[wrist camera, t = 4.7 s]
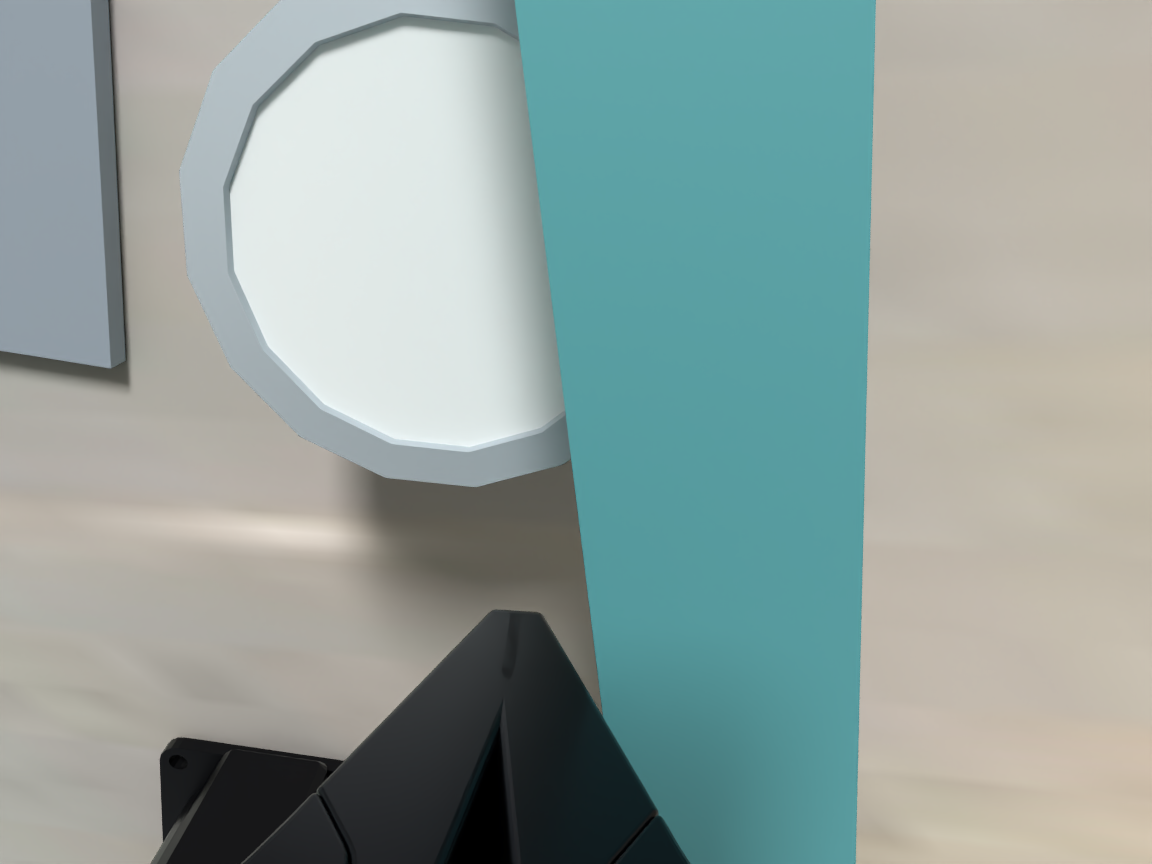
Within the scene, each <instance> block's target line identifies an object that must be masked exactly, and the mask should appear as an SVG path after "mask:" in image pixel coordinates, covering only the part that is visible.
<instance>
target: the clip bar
mask: <svg viewBox="0 0 1152 864" xmlns="http://www.w3.org/2000/svg"><path fill="white" fill-rule="evenodd" d="M515 8H516V16H517V24H518V33H519V41H520V49H521V57H522V65H523V73H524V81H525V89H526V97H527V105H528V114H529V122H530V130H531V138H532V146H533V154H534V162H535V170H536V178H537V186H538V194H539V203H540V211H541V219H542V227H543V235H544V243H545V251H546V259H547V267H548V275H549V283H550V292H551V300H552V308H553V316H554V324H555V332H556V340H557V348H558V356H559V364H560V373H561V381H562V389H563V397H564V405H565V413H566V421H567V429H568V437H569V445H570V453H571V462H572V470H573V478H574V486H575V494H576V502H577V510H578V518H579V526H580V534H581V543H582V551H583V559H584V567H585V575H586V583H587V591H588V599H589V607H590V615H591V623H592V632H593V640H594V648H595V656H596V664H597V672H598V680H599V688H600V696H601V704H602V712H603V718H604V719H605V721H606V723H607V725H608V726H609V728H610V730H611V731H612V733H613V735H614V736H615V738H616V740H617V742H618V743H619V745H620V747H621V748H622V750H623V752H624V753H625V755H626V757H627V758H628V760H629V762H630V764H631V765H632V767H633V769H634V770H635V772H636V774H637V775H638V777H639V779H640V780H641V782H642V784H643V786H644V787H645V789H646V791H647V792H648V794H649V796H650V797H651V799H652V801H653V803H654V804H655V806H656V808H657V809H658V812H659V816H661V817H663V819H664V820H665V822H666V824H667V826H668V827H669V829H670V831H671V832H672V834H673V836H674V838H675V839H676V841H677V843H678V844H679V846H680V848H681V849H682V851H683V853H684V854H685V856H686V857H687V859H688V860H689V862H690V863H691V864H856V822H857V779H858V736H859V693H860V650H861V608H862V565H863V522H864V479H865V437H866V394H867V351H868V308H869V266H870V223H871V180H872V137H873V94H874V52H875V9H876V0H515Z"/></svg>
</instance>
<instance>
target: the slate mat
mask: <svg viewBox="0 0 1152 864" xmlns="http://www.w3.org/2000/svg"><path fill="white" fill-rule="evenodd" d="M0 351H6V352H12V353H19V354H25V355H31V356H37V357H43V358H49V359H55V360H62V361H68V362H74V363H80V364H86V365H92V366H99V367H105V368H113V367H115V366H116V365H118V364H120V363H122V362H124V361H126V359H125V338H124V317H123V296H122V275H121V254H120V233H119V213H118V192H117V171H116V150H115V129H114V108H113V87H112V66H111V46H110V25H109V4H108V0H0Z"/></svg>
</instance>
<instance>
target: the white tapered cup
mask: <svg viewBox="0 0 1152 864" xmlns="http://www.w3.org/2000/svg"><path fill="white" fill-rule="evenodd" d="M179 174H180V188H181V201H182V214H183V227H184V240H185V253H186V266H187V276H188V278H189V280H190V282H191V284H192V286H193V289H194V291H195V293H196V295H197V297H198V299H199V301H200V303H201V305H202V308H203V310H204V312H205V314H206V316H207V318H208V320H209V322H210V325H211V327H212V329H213V331H214V333H215V335H216V337H217V339H218V342H219V344H220V346H221V348H222V350H223V352H224V354H225V356H226V358H227V361H228V363H229V365H230V367H231V368H232V369H233V370H234V371H235V372H236V373H237V374H238V375H239V376H240V377H241V378H242V379H243V380H244V381H245V382H246V383H247V384H248V385H249V386H250V387H251V388H252V389H253V390H254V391H255V392H256V393H257V394H258V395H259V396H260V397H261V398H262V399H263V400H264V401H265V402H266V403H267V404H268V405H269V406H270V407H271V408H272V409H273V410H274V411H275V412H276V413H277V414H278V415H279V416H280V417H281V418H282V419H283V420H284V421H285V422H286V423H287V424H288V425H289V426H290V427H291V428H292V429H293V430H294V431H295V432H296V433H297V434H298V435H299V436H300V437H302V438H304V439H306V440H308V441H310V442H312V443H314V444H316V445H318V446H320V447H322V448H324V449H327V450H329V451H331V452H333V453H335V454H337V455H339V456H341V457H343V458H345V459H347V460H349V461H351V462H353V463H356V464H358V465H360V466H362V467H364V468H366V469H368V470H370V471H372V472H374V473H376V474H378V475H380V476H382V477H385V478H392V479H402V480H411V481H421V482H430V483H440V484H449V485H459V486H468V487H479V486H483V485H487V484H491V483H494V482H498V481H502V480H506V479H510V478H514V477H517V476H521V475H525V474H529V473H533V472H537V471H540V470H544V469H548V468H552V467H556V466H560V465H563V464H564V463H566V462H567V461H569V460H570V459H571V453H570V445H569V437H568V429H567V421H566V413H565V405H564V397H563V389H562V381H561V373H560V364H559V356H558V348H557V340H556V332H555V324H554V316H553V308H552V300H551V292H550V283H549V275H548V267H547V259H546V251H545V243H544V235H543V227H542V219H541V211H540V203H539V194H538V186H537V178H536V170H535V162H534V154H533V146H532V138H531V130H530V122H529V114H528V105H527V97H526V89H525V81H524V73H523V65H522V57H521V49H520V41H519V33H518V24H517V16H516V8H515V0H280V1H279V2H278V3H277V4H276V5H275V6H274V7H273V8H272V9H271V10H270V11H269V12H268V13H267V15H266V16H265V17H264V18H263V19H262V20H261V21H260V22H259V23H258V24H257V25H256V26H255V27H254V28H253V29H252V30H251V31H250V32H249V33H248V34H247V35H246V36H245V37H244V38H243V40H242V41H241V42H240V43H239V44H238V45H237V46H236V47H235V48H234V49H233V50H232V51H231V52H230V53H229V54H228V55H227V56H226V57H225V58H224V59H223V60H222V61H221V62H220V63H219V64H218V66H217V67H216V68H215V69H214V70H213V72H212V75H211V78H210V81H209V84H208V87H207V90H206V93H205V96H204V99H203V102H202V105H201V108H200V111H199V114H198V117H197V120H196V123H195V126H194V129H193V132H192V135H191V137H190V140H189V143H188V146H187V149H186V152H185V155H184V158H183V161H182V164H181V167H180V170H179Z"/></svg>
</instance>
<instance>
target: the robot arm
mask: <svg viewBox="0 0 1152 864" xmlns="http://www.w3.org/2000/svg"><path fill="white" fill-rule="evenodd" d="M180 756H182V757H184V758H182V757H180ZM160 776H161V802H162V828H163V843H162V845H161V847H160V849H159V850H158V852H157V854H156V855H155V857H154V859H153V860H152V862H151V864H691V863H690V862H689V860H688V859H687V857H686V856H685V854H684V853H683V851H682V849H681V848H680V846H679V844H678V843H677V841H676V839H675V838H674V836H673V834H672V832H671V831H670V829H669V827H668V826H667V824H666V822H665V820H664V819H663V817H661V816H659V812H658V809H657V808H656V806H655V804H654V803H653V801H652V799H651V797H650V796H649V794H648V792H647V791H646V789H645V787H644V786H643V784H642V782H641V780H640V779H639V777H638V775H637V774H636V772H635V770H634V769H633V767H632V765H631V764H630V762H629V760H628V758H627V757H626V755H625V753H624V752H623V750H622V748H621V747H620V745H619V743H618V742H617V740H616V738H615V736H614V735H613V733H612V731H611V730H610V728H609V726H608V725H607V723H606V721H605V719H604V718H603V716H602V714H601V713H600V711H599V709H598V708H597V706H596V704H595V703H594V701H593V699H592V697H591V696H590V694H589V692H588V691H587V689H586V687H585V686H584V684H583V682H582V681H581V679H580V677H579V675H578V674H577V672H576V670H575V669H574V667H573V665H572V664H571V662H570V660H569V658H568V657H567V655H566V653H565V652H564V650H563V648H562V647H561V645H560V643H559V642H558V640H557V638H556V636H555V635H554V633H553V631H552V630H551V628H550V626H549V625H548V623H547V621H546V620H545V618H544V616H543V615H542V614H540V613H538V612H526V611H511V610H497V609H496V610H492V611H490V612H489V613H488V614H487V615H486V616H485V617H484V618H483V619H482V620H481V621H480V623H479V624H478V625H477V626H476V627H475V628H474V629H473V630H472V631H471V632H470V633H469V634H468V635H467V636H466V637H465V638H464V639H463V640H462V641H461V642H460V643H459V644H458V645H457V646H456V647H455V648H454V649H453V650H452V651H451V652H450V653H449V654H448V655H447V656H446V657H445V658H444V659H443V660H442V661H441V662H440V663H439V665H438V666H437V667H436V668H435V669H434V670H433V671H432V672H431V673H430V674H429V675H428V676H427V677H426V678H425V679H424V680H423V681H422V682H421V683H420V684H419V685H418V686H417V687H416V688H415V689H414V690H413V691H412V692H411V693H410V694H409V695H408V696H407V697H406V698H405V699H404V700H403V701H402V702H401V703H400V704H399V705H398V707H397V708H396V709H395V710H394V711H393V712H392V713H391V714H390V715H389V716H388V717H387V718H386V719H385V720H384V721H383V722H382V723H381V724H380V725H379V726H378V727H377V728H376V729H375V730H374V731H373V732H372V733H371V734H370V735H369V736H368V737H367V738H366V739H365V740H364V741H363V742H362V743H361V744H360V745H359V746H358V747H357V749H356V750H355V751H354V752H353V753H352V754H351V755H350V756H349V757H348V758H347V759H346V760H345V761H340V760H334V759H327V758H320V757H313V756H306V755H299V754H293V753H286V752H279V751H272V750H265V749H258V748H252V747H245V746H238V745H231V744H224V743H218V742H211V741H204V740H197V739H190V738H176V739H173V740H171V741H170V743H169V744H168V745H167V746H166V748H165V749H164V751H163V752H162V754H161V757H160Z"/></svg>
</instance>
